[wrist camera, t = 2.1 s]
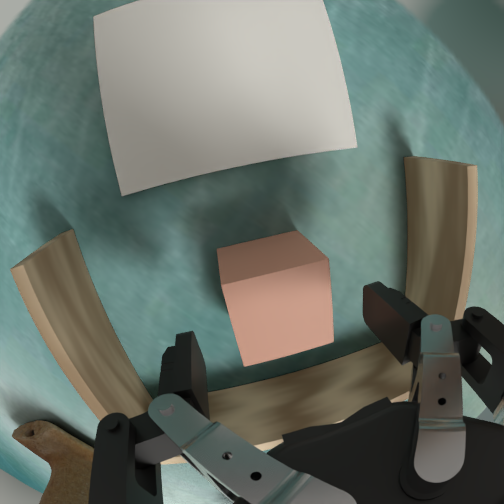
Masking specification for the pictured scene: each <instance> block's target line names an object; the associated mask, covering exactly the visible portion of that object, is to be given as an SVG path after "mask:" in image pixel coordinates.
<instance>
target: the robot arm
mask: <svg viewBox="0 0 504 504" xmlns="http://www.w3.org/2000/svg"><path fill="white" fill-rule="evenodd" d="M363 318H364V321H365V323H366V324H367V326H368V327H369V328H370V329H371V330H372V331H373V333H374V334H375V335H376V336H377V337H378V338H379V339H380V341H381V342H382V343H383V344H384V345H385V346H386V347H387V349H388V350H389V351H390V352H391V353H392V354H393V356H394V357H395V358H396V359H397V360H398V361H399V363H400V364H401V365H404V364H406V363H409V362H412V363H413V365H412V371H411V381H410V391H409V399H408V402H407V401H402V402H393V403H391V401H390V400H389V398H388V397H385V398H383V399H381V400H378V401H376V402H374V403H371V404H369V405H367V406H364V407H363V408H361V409H360V410H358V411H357V412H355V413H354V414H353V415H351V416H350V417H348V418H347V419H345V420H344V421H342V422H339V423H334V424H327V425H319V426H310V427H307V428H303V429H300V430H297V431H293V432H290V433H286V434H283V435H282V438H283V442H282V443H281V444H279V445H277V446H275V447H274V448H272V449H271V450H270V451H269V452H267V453H264V452H263V451H261V450H260V449H258V448H256V447H255V446H253V445H252V444H250V443H249V442H247V441H246V440H244V439H243V438H241V437H240V436H238V435H237V434H235V433H234V432H233V431H231V430H230V429H228V428H227V427H225V426H224V425H223V424H221V423H219V422H217V421H216V422H214V423H212V422H211V421H210V414H209V403H208V390H207V376H206V366H205V362H204V358H203V355H202V353H201V350H200V347H199V345H198V342H197V339H196V337H195V334H194V332H193V331H189V332H185V333H180V334H176V342H175V346H171V347H168V348H167V349H166V351H165V352H164V354H163V355H162V363H161V364H162V365H161V372H160V380H159V389H158V397H157V398H155V399H154V400H153V401H152V402H151V403H150V405H149V408H148V411H147V412H145V413H143V414H140V415H138V416H135V417H132V418H128V417H127V416H126V415H125V414H123V413H118V412H116V413H111V414H108V415H106V416H105V417H104V418H102V420H101V421H100V422H99V424H98V428H97V434H96V440H95V446H94V453H93V461H92V469H91V478H90V488H89V501H88V504H163V494H162V481H161V463H160V462H163V461H165V460H168V459H171V458H173V457H176V456H178V455H180V456H181V457H182V458H183V459H184V460H185V461H186V462H188V463H189V464H190V465H191V466H192V467H193V468H194V469H195V470H196V471H197V472H198V473H200V474H201V475H202V476H203V477H204V478H205V479H206V480H208V481H209V482H210V483H211V484H212V485H213V486H214V487H215V488H216V489H217V490H218V491H220V492H221V493H222V494H223V495H224V496H226V497H227V498H228V499H230V500H231V501H232V502H234V503H233V504H504V325H503V324H502V323H501V322H500V321H499V320H497V319H496V318H495V317H494V316H493V315H491V314H490V313H489V312H488V311H486V310H485V309H483V308H481V307H469V308H467V309H466V310H465V311H464V314H463V319H458V320H453V321H449V320H448V319H447V318H446V317H444V316H442V315H438V314H432V315H428V314H427V313H425V312H424V311H423V310H422V309H421V308H419V307H418V306H417V305H416V304H415V303H413V302H411V300H410V299H408V298H406V296H405V295H403V294H402V293H401V292H400V291H397V290H395V289H392V288H387V287H386V286H385V285H383V284H382V283H381V282H379V281H377V282H374V283H371V284H368V285H365V286H364V288H363ZM481 346H482V347H483V348H484V349H485V350H486V351H487V352H488V353H489V354H490V355H491V357H492V365H491V364H490V363H489V362H488V361H487V360H486V359H485V358H484V357H483V356H482V355H481V354H480V353H479V351H480V349H481ZM461 376H462V377H463V378H464V379H465V381H466V382H467V383H468V384H469V385H470V386H471V388H472V389H473V390H474V391H475V392H476V394H477V395H478V396H479V397H480V398H481V400H482V401H483V402H484V403H485V405H486V406H487V407H488V408H489V409H490V411H491V412H492V413H493V418H494V422H495V423H493V422H488V421H484V420H479V419H475V418H471V417H467V416H463V399H462V378H461Z"/></svg>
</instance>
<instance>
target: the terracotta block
mask: <svg viewBox="0 0 504 504" xmlns="http://www.w3.org/2000/svg"><path fill="white" fill-rule="evenodd" d="M217 256H218V264H219V272H220V280H221V286H222V290H223V294H224V298H225V301H226V305H227V309H228V312H229V316H230V319H231V323H232V326H233V330H234V333H235V337H236V340H237V344H238V347H239V351H240V354H241V358H242V361H243V364H244V367H245V366H250V365H254V364H258V363H262V362H266V361H270V360H274V359H277V358H281V357H285V356H289V355H292V354H296V353H299V352H303V351H306V350H309V349H313V348H316V347H319V346H322V345H326V344H329V343H332V342H334V333H333V311H332V294H331V280H330V268H329V258H327V257H326V256H325V255H324V254H323V253H322V252H321V251H320V250H319V249H318V248H317V247H315V246H314V245H313V244H312V243H311V242H310V241H309V240H308V239H307V238H305V237H304V236H303V235H302V234H301V233H300V232H299V231H298V230H296V231H291V232H287V233H282V234H278V235H274V236H269V237H265V238H261V239H256V240H252V241H248V242H244V243H239V244H235V245H231V246H227V247H222V248H218V249H217Z"/></svg>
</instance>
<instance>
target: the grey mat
mask: <svg viewBox="0 0 504 504" xmlns="http://www.w3.org/2000/svg"><path fill="white" fill-rule="evenodd" d="M93 20H94V37H95V50H96V60H97V70H98V78H99V85H100V93H101V99H102V106H103V112H104V118H105V123H106V129H107V134H108V139H109V144H110V148H111V153H112V158H113V162H114V167H115V171H116V175H117V179H118V183H119V187H120V191H121V195H122V196H125V195H128V194H131V193H135V192H138V191H142V190H145V189H149V188H152V187H156V186H159V185H163V184H167V183H170V182H174V181H178V180H182V179H186V178H190V177H194V176H198V175H202V174H207V173H211V172H215V171H220V170H224V169H229V168H234V167H238V166H243V165H248V164H253V163H258V162H264V161H269V160H275V159H280V158H286V157H292V156H298V155H304V154H311V153H318V152H325V151H332V150H340V149H348V148H357V141H356V135H355V129H354V123H353V117H352V112H351V106H350V101H349V96H348V91H347V87H346V82H345V77H344V73H343V69H342V65H341V61H340V57H339V53H338V49H337V45H336V42H335V38H334V35H333V31H332V28H331V24H330V21H329V18H328V15H327V12H326V8H325V5H324V2H323V0H139V1H135V2H132V3H129V4H126V5H123V6H120V7H117V8H114V9H111V10H109V11H106V12H103V13H101V14H98V15H96V16H93Z"/></svg>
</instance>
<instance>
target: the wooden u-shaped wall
mask: <svg viewBox="0 0 504 504" xmlns="http://www.w3.org/2000/svg"><path fill="white" fill-rule="evenodd" d="M404 166H405V178H406V194H407V222H408V247H407V275H406V291H405V296H406V298H408V299H410V300H411V302H413V303H415V304H416V305H417V306H418V307H419V308H421V309H422V310H423V311H424V312H425V313H427V314H428V315H432V314H438V315H442V316H444V317H446V318H447V319H448V320H449V321H453V320H458V319H463V314H464V311H465V306H466V301H467V296H468V291H469V285H470V279H471V273H472V266H473V258H474V249H475V239H476V226H477V202H478V179H477V165H473V164H467V163H461V162H455V161H448V160H441V159H433V158H426V157H417V156H410V157H404ZM10 270H11V273H12V275H13V278H14V280H15V283H16V285H17V287H18V290H19V292H20V294H21V296H22V298H23V301H24V303H25V305H26V307H27V309H28V311H29V313H30V315H31V317H32V319H33V321H34V323H35V325H36V327H37V328H38V330H39V332H40V334H41V336H42V338H43V339H44V341H45V343H46V345H47V346H48V348H49V350H50V351H51V353H52V355H53V356H54V358H55V359H56V361H57V363H58V364H59V366H60V367H61V369H62V370H63V372H64V373H65V375H66V376H67V378H68V379H69V381H70V382H71V384H72V385H73V386H74V388H75V389H76V391H77V392H78V393H79V395H80V396H81V397H82V399H83V400H84V401H85V403H86V404H87V405H88V407H89V408H90V409H91V410H92V412H93V413H94V414H95V415H96V417H97V418H98V419H99V420H100V421H101V420H102V418H104V417H105V416H106V415H108V414H111V413H116V412H118V413H123V414H125V415H126V416H127V417H128V418H132V417H135V416H138V415H140V414H143V413H145V412H147V411H148V408H149V405H150V403H151V402H152V401H153V399H152V398H151V396H150V394H149V393H148V391H147V389H146V388H145V386H144V385H143V383H142V381H141V379H140V378H139V376H138V374H137V373H136V371H135V369H134V367H133V366H132V364H131V362H130V360H129V358H128V356H127V355H126V353H125V351H124V349H123V347H122V345H121V343H120V341H119V339H118V337H117V335H116V333H115V331H114V329H113V327H112V325H111V323H110V321H109V319H108V317H107V314H106V312H105V310H104V308H103V306H102V303H101V301H100V299H99V297H98V294H97V292H96V289H95V287H94V285H93V282H92V280H91V277H90V275H89V272H88V270H87V267H86V264H85V262H84V259H83V256H82V253H81V251H80V248H79V245H78V242H77V239H76V236H75V233H74V230H73V229H71V230H69V231H66V232H63V233H61V234H59V235H57V236H56V237H54V238H53V239H52V240H50V241H49V242H47V243H46V244H44V245H43V246H41V247H40V248H38V249H37V250H36V251H34V252H33V253H31V254H30V255H29V256H27V257H26V258H25V259H23V260H22V261H21V262H19V263H18V264H17V265H15V266H14V267H13V268H11V269H10ZM412 365H413V363H412V362H409V363H406V364H404V365H401V364H400V363H399V361H398V360H397V359H396V358H395V357H394V356H393V354H392V353H391V352H390V351H389V350H388V349H387V347H386V346H385V345H384V344H383V343H382V342H381V343H378V344H376V345H373V346H371V347H368V348H365V349H363V350H360V351H357V352H355V353H352V354H349V355H346V356H343V357H341V358H338V359H335V360H332V361H329V362H326V363H323V364H319V365H316V366H313V367H310V368H307V369H303V370H300V371H296V372H293V373H289V374H286V375H282V376H278V377H275V378H271V379H267V380H263V381H259V382H255V383H250V384H246V385H242V386H237V387H233V388H228V389H223V390H218V391H213V392H208V403H209V414H210V421H211V422H212V423H214V422H216V421H217V422H219V423H221V424H223V425H224V426H225V427H227V428H228V429H230V430H231V431H233V432H234V433H235V434H237V435H238V436H240V437H241V438H243V439H244V440H246V441H247V442H249V443H250V444H252V445H253V446H255V447H256V448H258V449H260V450H261V451H264V450H268V449H272V448H274V447H275V446H277V445H279V444H281V443H282V442H283V438H282V435H283V434H286V433H290V432H293V431H297V430H300V429H303V428H307V427H310V426H319V425H327V424H334V423H339V422H342V421H344V420H345V419H347V418H348V417H350V416H351V415H353V414H354V413H355V412H357V411H358V410H360V409H361V408H363V407H364V406H367V405H369V404H371V403H374V402H376V401H378V400H381V399H383V398H385V397H388V398H389V400H390V401H391V403H393V402H402V401H404V400H406V399H408V398H409V391H410V381H411V371H412ZM160 463H161V464H177V463H188V462H186V461H185V460H184V459H183V458H182V457H181V456H180V455H178V456H176V457H173V458H171V459H168V460H165V461H163V462H160Z"/></svg>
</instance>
